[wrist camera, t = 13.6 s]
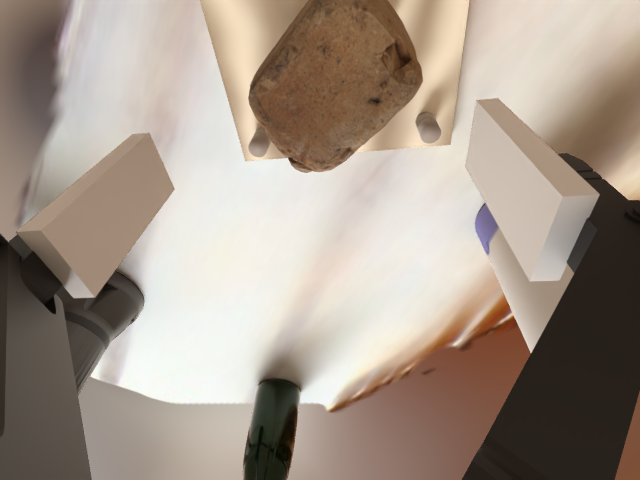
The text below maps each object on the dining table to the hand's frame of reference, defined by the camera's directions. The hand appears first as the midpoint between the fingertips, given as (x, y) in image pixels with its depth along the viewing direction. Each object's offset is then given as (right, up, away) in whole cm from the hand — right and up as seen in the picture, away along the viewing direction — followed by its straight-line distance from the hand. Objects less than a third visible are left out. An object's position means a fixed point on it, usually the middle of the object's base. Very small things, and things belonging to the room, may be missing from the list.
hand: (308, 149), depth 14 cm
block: (+2, +16, +18) cm, 24 cm away
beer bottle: (-9, -39, +68) cm, 79 cm away
